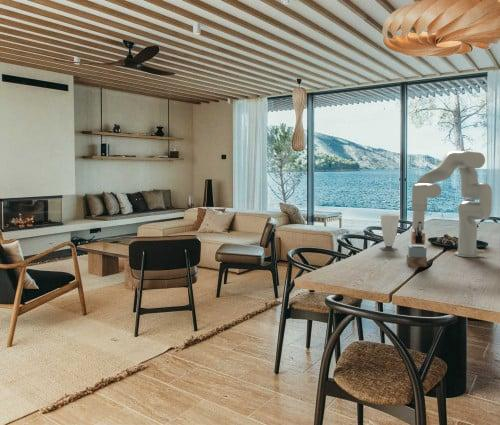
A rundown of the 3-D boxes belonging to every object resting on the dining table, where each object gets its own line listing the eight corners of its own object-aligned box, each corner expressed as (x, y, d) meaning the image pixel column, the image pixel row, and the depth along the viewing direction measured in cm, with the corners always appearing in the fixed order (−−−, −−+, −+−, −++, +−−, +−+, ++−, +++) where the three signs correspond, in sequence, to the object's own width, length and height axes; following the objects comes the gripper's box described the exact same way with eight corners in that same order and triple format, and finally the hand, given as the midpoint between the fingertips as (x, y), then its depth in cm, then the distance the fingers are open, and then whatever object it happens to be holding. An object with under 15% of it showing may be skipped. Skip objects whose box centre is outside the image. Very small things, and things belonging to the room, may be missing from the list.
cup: (375, 248, 286) (376, 214, 283) (391, 247, 289) (392, 213, 287) (386, 251, 275) (387, 216, 273) (402, 250, 278) (403, 215, 276)
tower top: (424, 254, 240) (424, 245, 240) (426, 257, 232) (426, 248, 232) (408, 254, 242) (408, 244, 242) (409, 256, 234) (410, 247, 234)
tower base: (424, 264, 241) (424, 254, 240) (426, 267, 232) (426, 258, 232) (406, 263, 243) (406, 253, 243) (408, 266, 234) (408, 257, 234)
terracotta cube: (423, 242, 239) (423, 231, 238) (424, 244, 233) (425, 233, 232) (411, 242, 240) (411, 231, 239) (412, 244, 234) (412, 232, 234)
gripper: (410, 206, 244) (408, 239, 246) (413, 209, 227) (412, 244, 229) (424, 206, 242) (423, 239, 244) (429, 209, 225) (427, 245, 227)
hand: (417, 241), depth 236 cm, fingers closed on terracotta cube, 5 cm apart
